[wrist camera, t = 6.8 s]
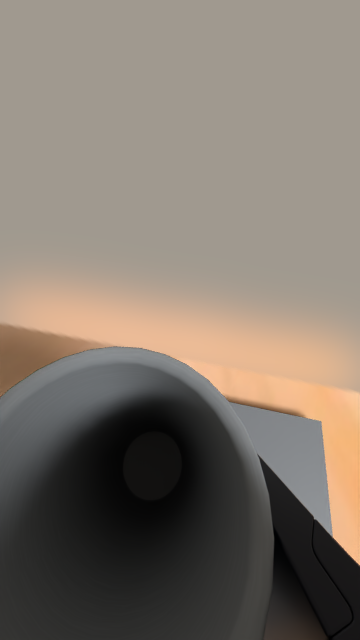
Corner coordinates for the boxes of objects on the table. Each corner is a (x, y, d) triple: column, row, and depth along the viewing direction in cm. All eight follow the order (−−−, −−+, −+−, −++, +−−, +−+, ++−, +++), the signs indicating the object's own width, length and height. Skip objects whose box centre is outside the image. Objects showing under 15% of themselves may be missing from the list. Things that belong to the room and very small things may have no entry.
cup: (164, 398, 20) (150, 303, 7) (215, 473, 17) (351, 553, 4) (92, 452, 18) (-131, 465, 5) (138, 548, 15) (-69, 1174, 2)
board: (311, 423, 21) (321, 421, 19) (336, 728, 13) (355, 759, 12) (100, 378, 22) (96, 374, 21) (7, 627, 14) (-10, 645, 13)
